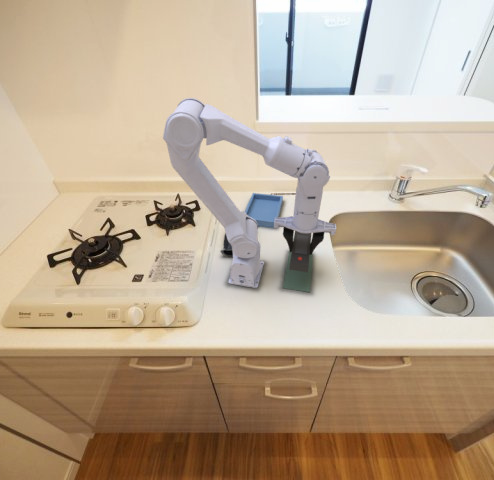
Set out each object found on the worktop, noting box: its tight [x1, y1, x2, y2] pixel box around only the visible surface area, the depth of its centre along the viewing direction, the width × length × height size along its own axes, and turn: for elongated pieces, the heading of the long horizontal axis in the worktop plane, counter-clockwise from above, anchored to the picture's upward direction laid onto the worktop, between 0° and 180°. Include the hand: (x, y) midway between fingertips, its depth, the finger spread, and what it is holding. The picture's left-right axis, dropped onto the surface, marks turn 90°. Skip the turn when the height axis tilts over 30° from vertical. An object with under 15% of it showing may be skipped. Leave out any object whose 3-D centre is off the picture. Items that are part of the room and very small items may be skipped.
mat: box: [282, 251, 314, 293], centre depth 72 cm, size 14×7×1 cm, turn 168°
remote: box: [289, 231, 312, 272], centre depth 67 cm, size 13×4×3 cm, turn 168°
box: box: [244, 192, 284, 229], centre depth 93 cm, size 17×12×2 cm
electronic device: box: [220, 233, 233, 257], centre depth 81 cm, size 9×6×15 cm
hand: (301, 250), depth 68 cm, fingers closed on remote, 4 cm apart
